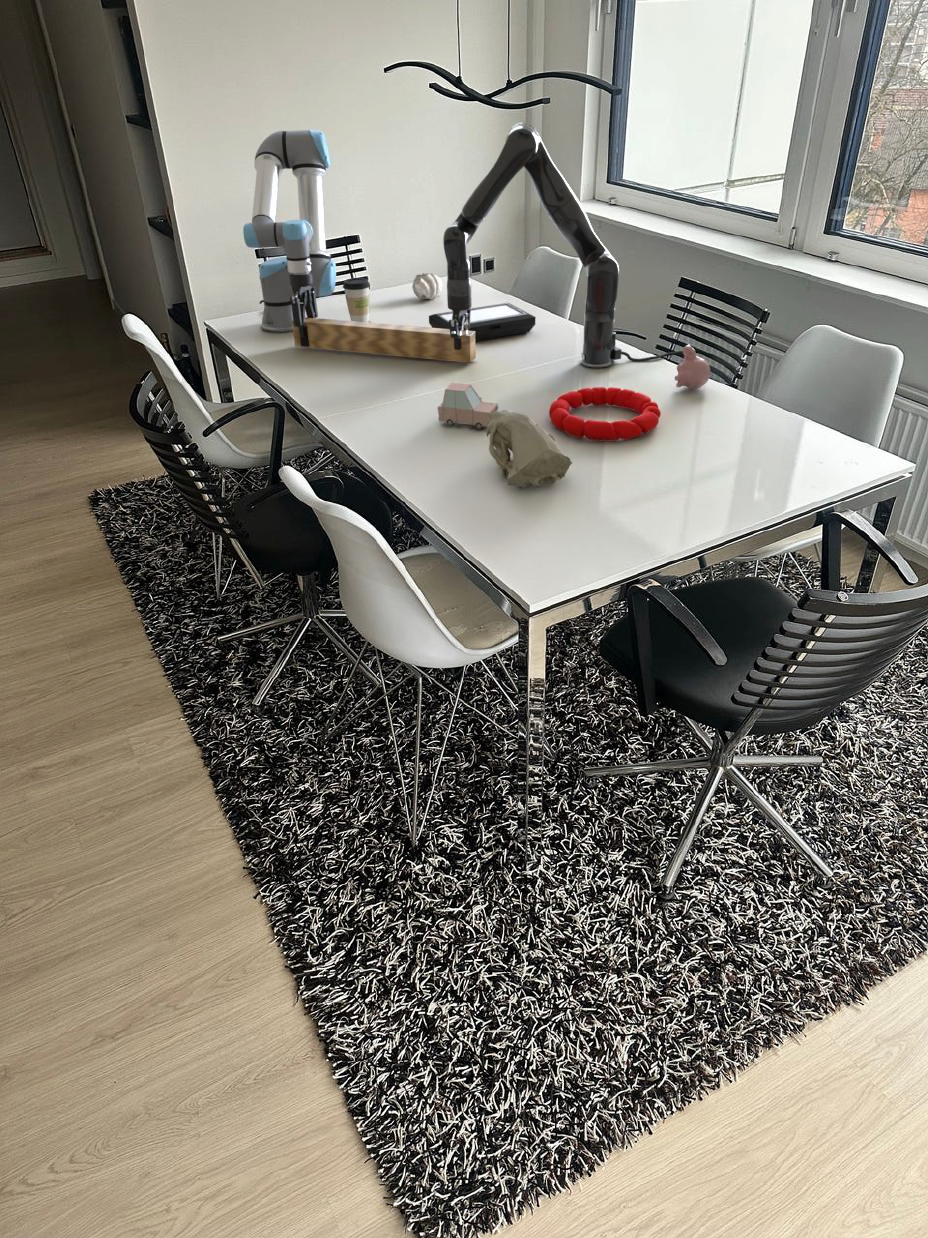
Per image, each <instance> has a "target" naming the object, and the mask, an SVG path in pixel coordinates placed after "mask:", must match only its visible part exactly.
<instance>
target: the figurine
mask: <svg viewBox="0 0 928 1238" xmlns="http://www.w3.org/2000/svg"><path fill="white" fill-rule="evenodd" d="M682 351H683V353H684V354H683V358H684V359H683V361H682V362H679V363H678V364H677V365H676V372H677V375H675V376H674V381H675V382H676V381H677V382H676V384H675V386H676V388H681V387H686V388H688V389H693V390H694V389H695V390H696V389H700V388H703V387H704V386H705V385H706V384H707V383H708V382H709V379H710V377H711V367H710V364H709V362H708V361H706V359H704V358H702V357H700V356H697V353H696V350H695V349H694V347H692V345H690V344H686V345H685V346H684V347H683V348H682Z"/></svg>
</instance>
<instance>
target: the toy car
mask: <svg viewBox="0 0 928 1238" xmlns="http://www.w3.org/2000/svg"><path fill="white" fill-rule="evenodd" d="M498 409H499V404H498V403H497V402H490V401H489V402H487V401H483V397H481V396H480V395H479V394H478V393H477V391H476V390H475V389H474V386H472V384H469V383H459V382H451V383H450V384H449V385H448V386H447V387H446V388H445V389H444V394H443V399H442V403H440V404H439V405H438V406H437V413H438V421H439V422H443V423H446V425H447V426H448V427H452V426H454V425H455V424H461V425H469V426H473V427H475V429H476V430H479V431H480V430H481V429H483V428H485V427H486V428H487V423H488V422H490V414H491V413H492V412H496V411H499V410H498Z"/></svg>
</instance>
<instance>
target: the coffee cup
mask: <svg viewBox="0 0 928 1238" xmlns="http://www.w3.org/2000/svg"><path fill="white" fill-rule="evenodd" d="M370 287H371V283H370V282H369V279H367V278H365V277H351V278H347V279H345V280H344V281H343V285H342V288H343V290H344V297H345V301H346V305H347V310H348V314H349V318H350V321H356V322H368V323H369V317H370V316H369V313H370Z"/></svg>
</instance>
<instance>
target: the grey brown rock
mask: <svg viewBox="0 0 928 1238" xmlns="http://www.w3.org/2000/svg"><path fill="white" fill-rule="evenodd" d="M485 436H486V438H487V437H489V438H488V440H489V444H488V445H489V446H488V450H489V454H490V456H491V457H492V458H493V459H494V460H495V462H496V464H497V466H499V468H500V470H501V471H502V472H501V478H502V479H507V480H506V484H507V486H517V487H518V486H519V488H523V489H524V488H526V486H527V485H529V483H531V485H533V486H534V487H536V488H540V485H541V484H542V482H544V483H549V484H550V485H553V484H555V483H556V482H557V480H561V479H563V478H565V476H566V474H567V472H568V471H569V469H570V467H571V466H572V464H573V462H572V461H571V458H570V457H568V456H567V455H565V453H564V451H562V449H561V448H560V446H559V444H557V443H556V439H555V438H554V436H553V435H551V434H550V433H548V432H547V431H546V430H545V429H544V428H542V427H541V426H539V425H538V424H537V423H536V424H535V422H534V421H533V419H532V418H531V417H530V416H529V415H527V414H524V413H519V412H515V411H509V410H507V409H502V410H500V411H499V410H497V411H496V412H492V413H491V414H490V422H488V423H487V427H486V435H485ZM511 453H512V454H511ZM511 455H512V457H513V458H512V460H511ZM507 474H508V475H507Z"/></svg>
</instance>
